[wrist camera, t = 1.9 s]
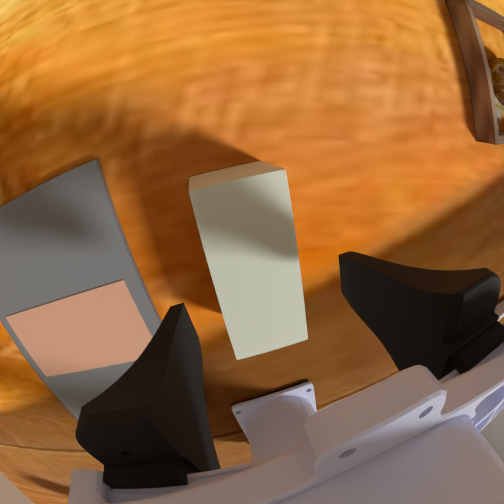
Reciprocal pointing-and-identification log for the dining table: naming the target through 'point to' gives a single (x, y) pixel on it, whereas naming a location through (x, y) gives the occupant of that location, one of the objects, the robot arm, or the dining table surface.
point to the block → (252, 254)
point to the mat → (72, 286)
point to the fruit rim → (478, 64)
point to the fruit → (498, 84)
